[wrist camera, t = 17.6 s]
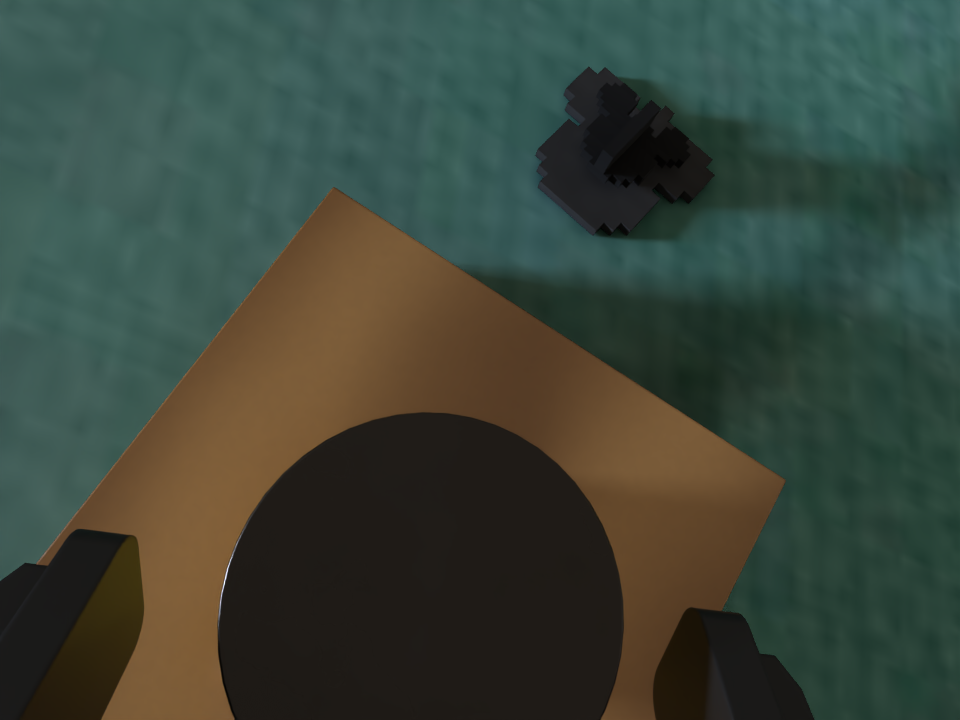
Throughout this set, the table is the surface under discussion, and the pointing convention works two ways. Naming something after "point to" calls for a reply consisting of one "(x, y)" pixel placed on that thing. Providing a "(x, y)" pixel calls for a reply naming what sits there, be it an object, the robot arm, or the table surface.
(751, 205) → the table surface
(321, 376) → the wood block
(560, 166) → the block figure
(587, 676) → the tin
